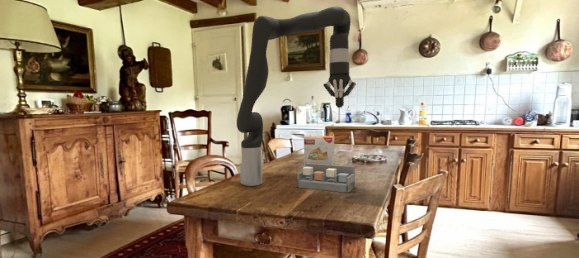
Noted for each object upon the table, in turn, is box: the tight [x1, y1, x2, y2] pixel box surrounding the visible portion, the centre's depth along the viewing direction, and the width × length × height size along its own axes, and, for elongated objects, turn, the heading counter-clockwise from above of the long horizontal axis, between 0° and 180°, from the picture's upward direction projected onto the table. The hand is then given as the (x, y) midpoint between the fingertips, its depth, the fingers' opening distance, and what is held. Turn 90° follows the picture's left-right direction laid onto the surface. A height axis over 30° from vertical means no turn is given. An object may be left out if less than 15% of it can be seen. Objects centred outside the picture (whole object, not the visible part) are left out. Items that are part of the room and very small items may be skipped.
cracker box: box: [303, 135, 335, 168], centre depth 159 cm, size 14×6×21 cm, turn 73°
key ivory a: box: [302, 167, 313, 175], centre depth 147 cm, size 4×4×3 cm
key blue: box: [338, 173, 349, 182], centre depth 139 cm, size 4×4×3 cm
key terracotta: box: [314, 171, 325, 180], centre depth 144 cm, size 4×4×3 cm
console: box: [296, 163, 356, 194], centre depth 143 cm, size 23×10×9 cm, turn 63°
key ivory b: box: [326, 168, 337, 177], centre depth 142 cm, size 4×4×3 cm
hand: (339, 107), depth 127 cm, fingers closed
